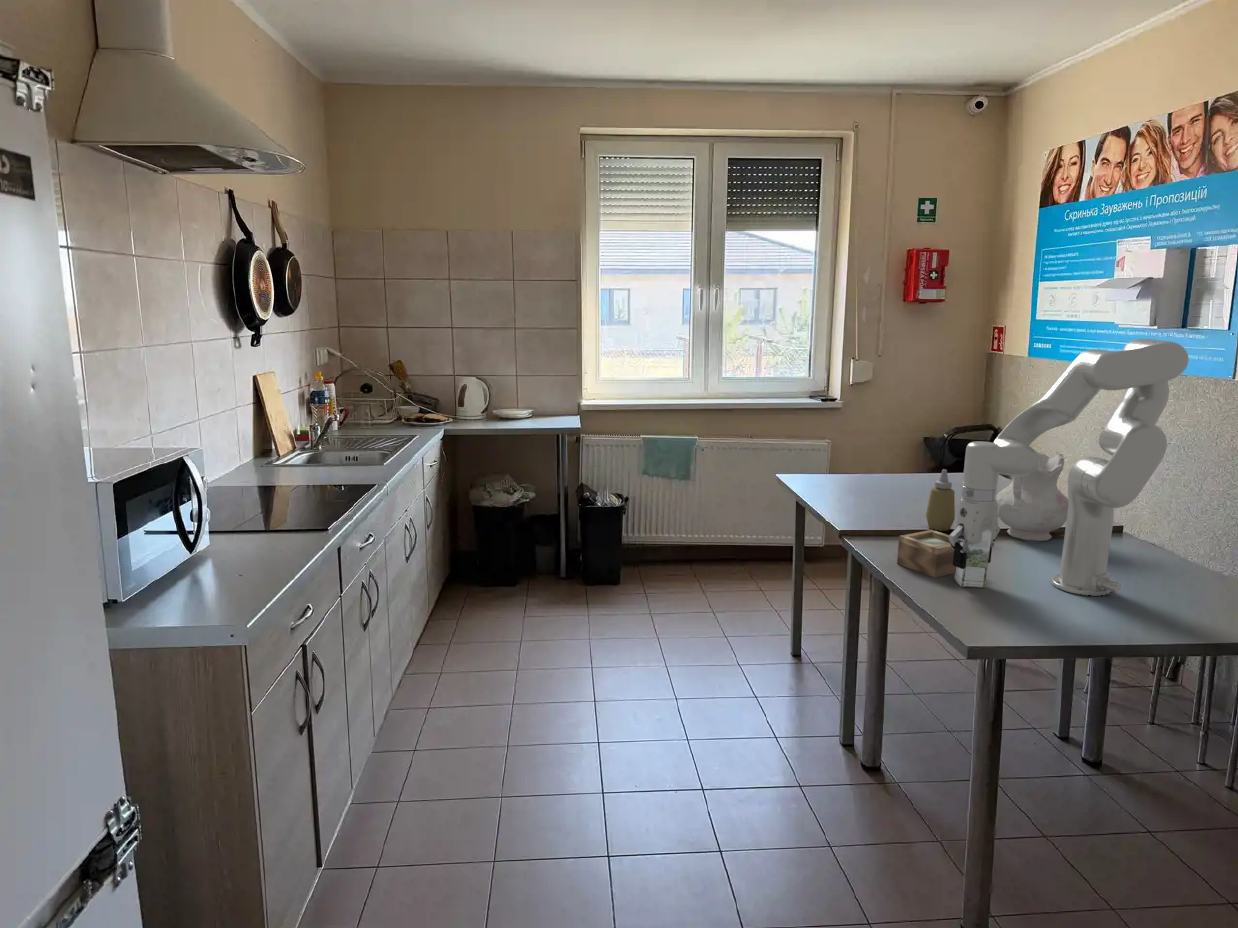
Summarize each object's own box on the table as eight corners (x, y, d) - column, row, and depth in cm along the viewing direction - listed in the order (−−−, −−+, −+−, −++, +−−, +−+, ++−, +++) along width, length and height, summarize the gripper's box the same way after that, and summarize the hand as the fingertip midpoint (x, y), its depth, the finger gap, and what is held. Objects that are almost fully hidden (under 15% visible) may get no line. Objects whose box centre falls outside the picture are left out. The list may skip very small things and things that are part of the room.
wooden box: (967, 570, 208) (970, 541, 206) (934, 577, 202) (937, 548, 201) (929, 556, 218) (931, 529, 217) (896, 563, 213) (899, 535, 211)
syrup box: (977, 580, 201) (983, 523, 198) (985, 588, 195) (992, 530, 192) (953, 579, 201) (959, 522, 198) (961, 587, 196) (966, 529, 193)
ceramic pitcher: (1054, 555, 224) (1073, 467, 218) (979, 536, 235) (996, 452, 229) (1068, 537, 241) (1086, 455, 235) (997, 520, 252) (1013, 442, 246)
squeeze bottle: (935, 533, 239) (941, 473, 236) (919, 525, 247) (924, 467, 243) (959, 531, 242) (965, 471, 238) (942, 524, 249) (947, 466, 245)
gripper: (967, 502, 186) (960, 574, 190) (1016, 493, 195) (1008, 563, 198) (940, 494, 193) (933, 565, 196) (989, 486, 201) (982, 554, 205)
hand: (971, 564), depth 197 cm, fingers open, 8 cm apart
